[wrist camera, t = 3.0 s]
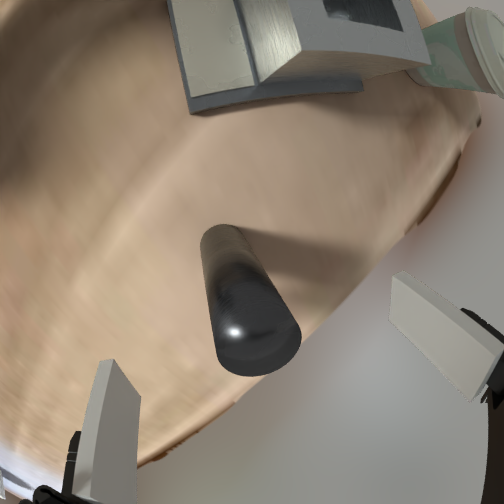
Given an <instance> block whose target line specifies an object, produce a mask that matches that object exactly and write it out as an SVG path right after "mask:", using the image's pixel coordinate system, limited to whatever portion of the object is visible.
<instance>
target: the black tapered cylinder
mask: <svg viewBox="0 0 504 504" xmlns="http://www.w3.org/2000/svg"><path fill="white" fill-rule="evenodd" d="M200 250H201V258H202V266H203V273H204V280H205V287H206V294H207V300H208V306H209V313H210V319H211V325H212V331H213V337H214V342H215V348H216V353H217V357H218V360H219V362H220V364H221V365H222V366H223V367H224V368H225V369H226V370H228V371H229V372H231V373H234V374H236V375H240V376H248V377H253V376H261V375H265V374H269V373H271V372H274V371H276V370H278V369H280V368H281V367H283V366H284V365H286V364H287V363H288V362H289V361H290V360H291V359H292V358H293V357H294V355H295V354H296V353H297V351H298V349H299V347H300V344H301V338H302V336H301V330H300V327H299V325H298V324H297V322H296V320H295V319H294V317H293V315H292V314H291V312H290V311H289V309H288V307H287V306H286V304H285V303H284V301H283V299H282V298H281V296H280V294H279V293H278V291H277V290H276V288H275V286H274V285H273V283H272V281H271V280H270V278H269V277H268V275H267V273H266V272H265V270H264V269H263V267H262V265H261V264H260V262H259V260H258V259H257V257H256V256H255V254H254V252H253V251H252V249H251V248H250V246H249V244H248V243H247V241H246V239H245V238H244V236H243V235H242V233H241V232H240V231H239V230H238V229H237V228H235V227H234V226H231V225H227V224H220V225H216V226H213V227H211V228H210V229H209V230H207V231H206V233H205V234H204V235H203V237H202V239H201V243H200Z"/></svg>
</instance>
